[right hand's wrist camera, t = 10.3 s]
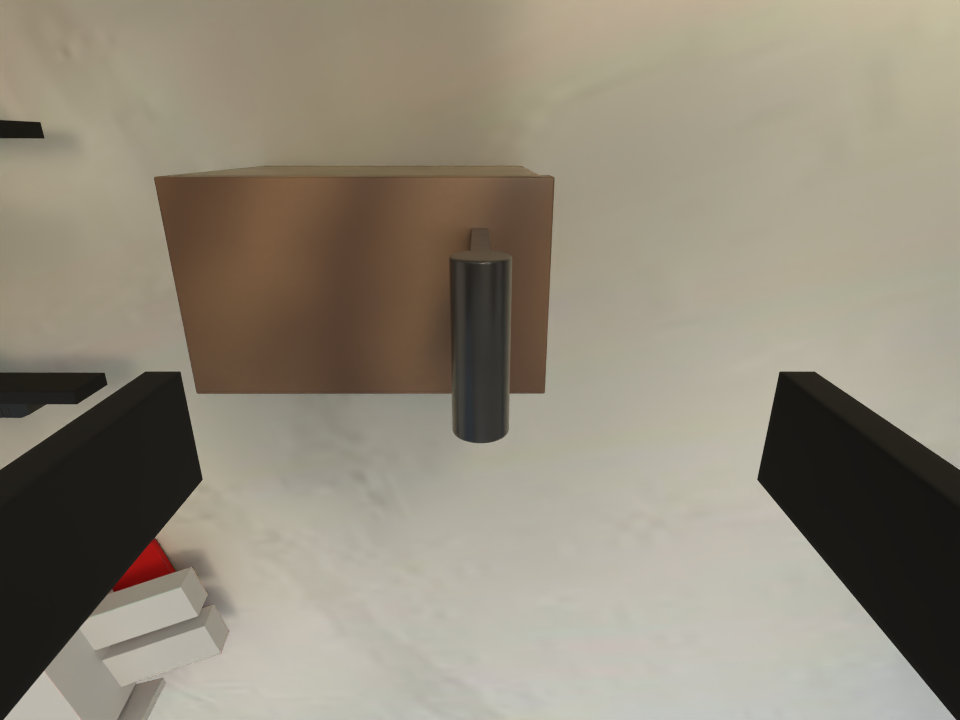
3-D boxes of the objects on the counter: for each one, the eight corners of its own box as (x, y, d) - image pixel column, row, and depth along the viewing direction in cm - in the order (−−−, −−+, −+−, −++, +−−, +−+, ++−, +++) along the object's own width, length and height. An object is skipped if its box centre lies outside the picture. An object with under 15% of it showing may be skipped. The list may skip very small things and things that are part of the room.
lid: (550, 175, 24) (591, 192, 15) (542, 383, 27) (571, 493, 18) (169, 175, 24) (-8, 192, 15) (208, 383, 27) (82, 494, 18)
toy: (218, 738, 37) (-227, 890, 36) (264, 595, 50) (-66, 706, 49) (128, 601, 33) (-376, 768, 32) (203, 483, 46) (-158, 601, 45)
